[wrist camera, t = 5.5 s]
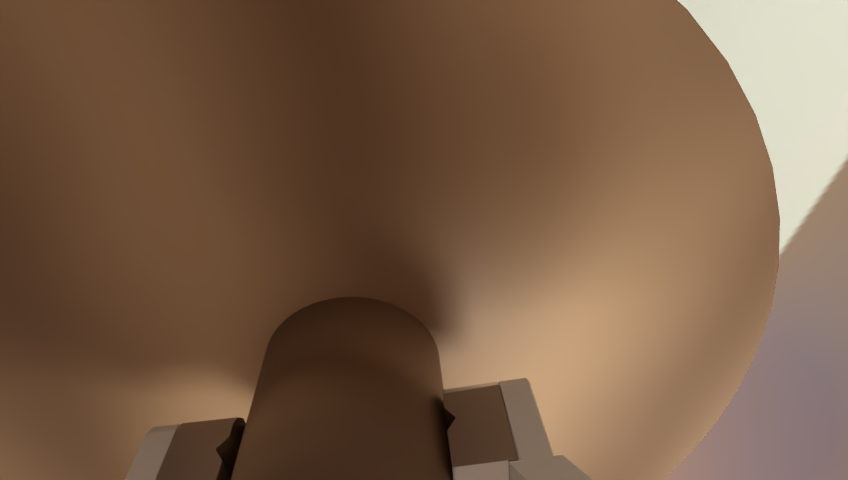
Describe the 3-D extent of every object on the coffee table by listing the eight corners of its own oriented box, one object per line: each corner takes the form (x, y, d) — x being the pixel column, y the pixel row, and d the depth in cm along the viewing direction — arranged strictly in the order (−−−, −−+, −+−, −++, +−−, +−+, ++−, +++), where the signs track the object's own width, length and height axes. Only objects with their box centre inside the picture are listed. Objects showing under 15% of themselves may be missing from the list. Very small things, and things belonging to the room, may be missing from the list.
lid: (120, 599, 16) (28, 835, 12) (-379, -53, 7) (-1360, -26, 3) (693, 522, 16) (802, 732, 12) (864, -220, 7) (1486, -406, 3)
